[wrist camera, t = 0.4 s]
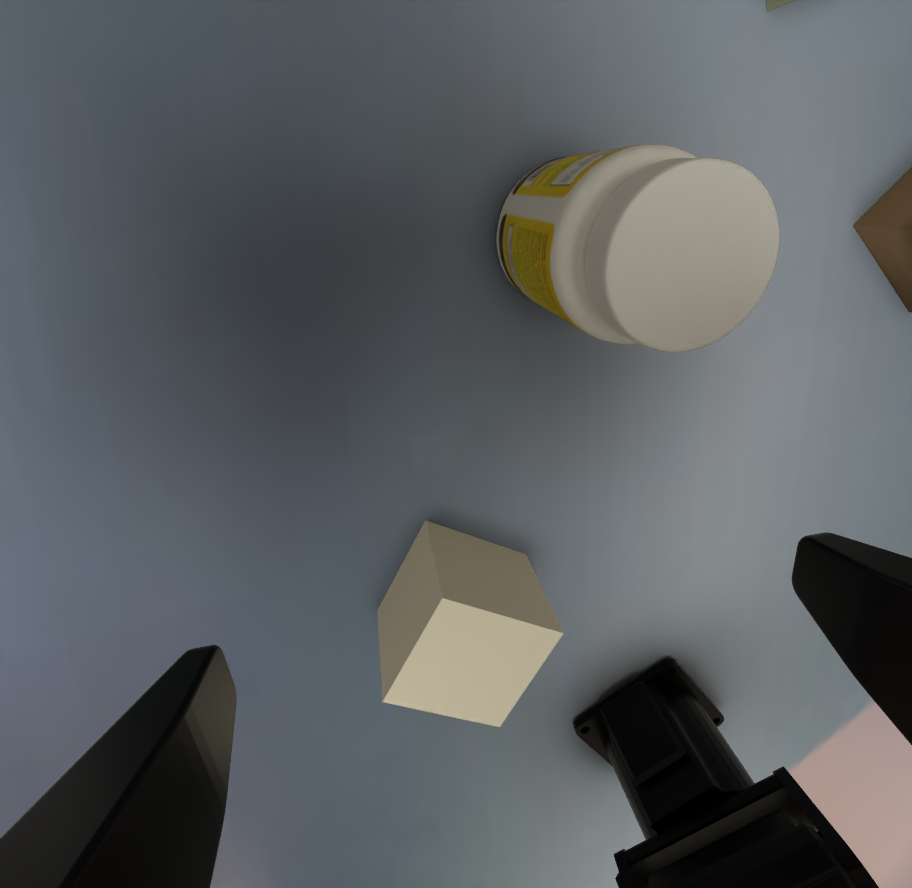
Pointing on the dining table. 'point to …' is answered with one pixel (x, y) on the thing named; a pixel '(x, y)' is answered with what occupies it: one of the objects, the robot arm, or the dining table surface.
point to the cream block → (463, 627)
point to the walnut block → (892, 236)
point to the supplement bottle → (641, 244)
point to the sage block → (775, 3)
